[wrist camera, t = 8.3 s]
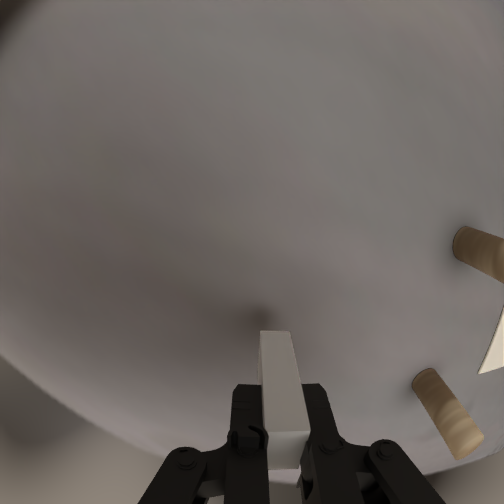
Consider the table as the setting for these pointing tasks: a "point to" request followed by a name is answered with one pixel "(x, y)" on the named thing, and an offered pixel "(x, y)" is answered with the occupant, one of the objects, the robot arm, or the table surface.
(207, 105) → the table surface
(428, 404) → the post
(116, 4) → the table surface
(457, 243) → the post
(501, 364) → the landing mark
